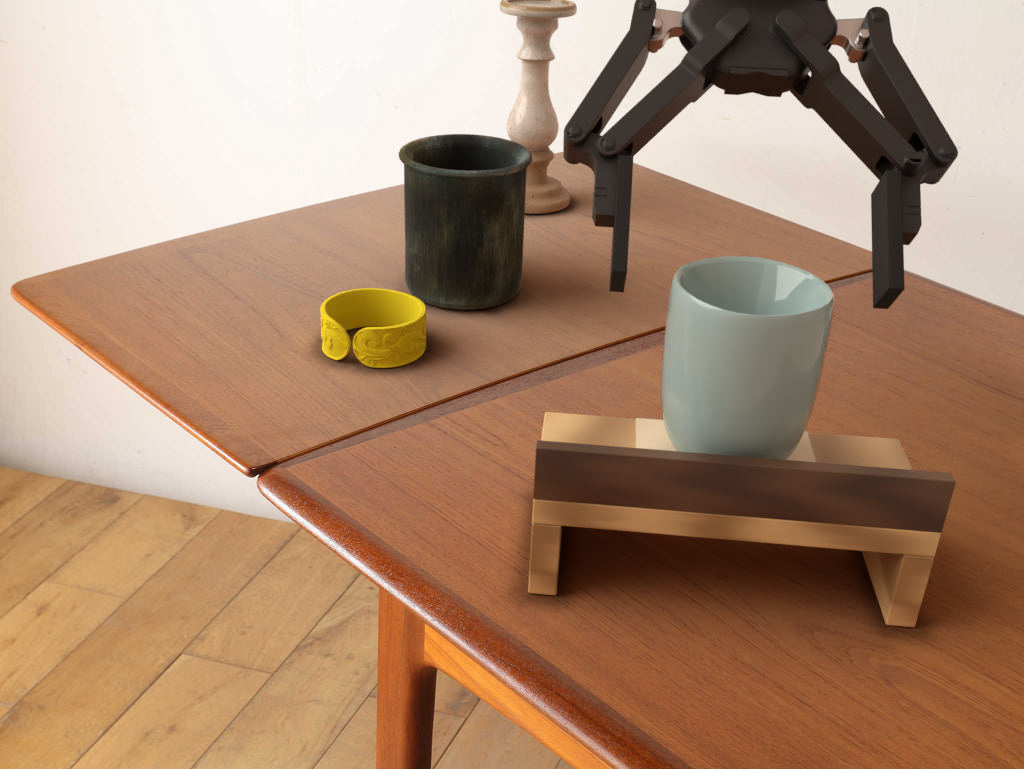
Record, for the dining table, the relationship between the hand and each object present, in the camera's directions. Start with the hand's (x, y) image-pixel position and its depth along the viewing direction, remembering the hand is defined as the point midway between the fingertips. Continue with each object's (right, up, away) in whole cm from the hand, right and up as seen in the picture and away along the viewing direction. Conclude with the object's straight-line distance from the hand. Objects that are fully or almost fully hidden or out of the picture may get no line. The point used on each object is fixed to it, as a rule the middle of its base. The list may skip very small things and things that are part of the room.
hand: (752, 291), depth 53 cm
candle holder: (-10, +15, +59) cm, 62 cm away
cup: (-1, -9, +3) cm, 9 cm away
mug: (-17, +4, +39) cm, 43 cm away
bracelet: (-23, -2, +27) cm, 36 cm away
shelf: (-1, -14, +5) cm, 15 cm away
